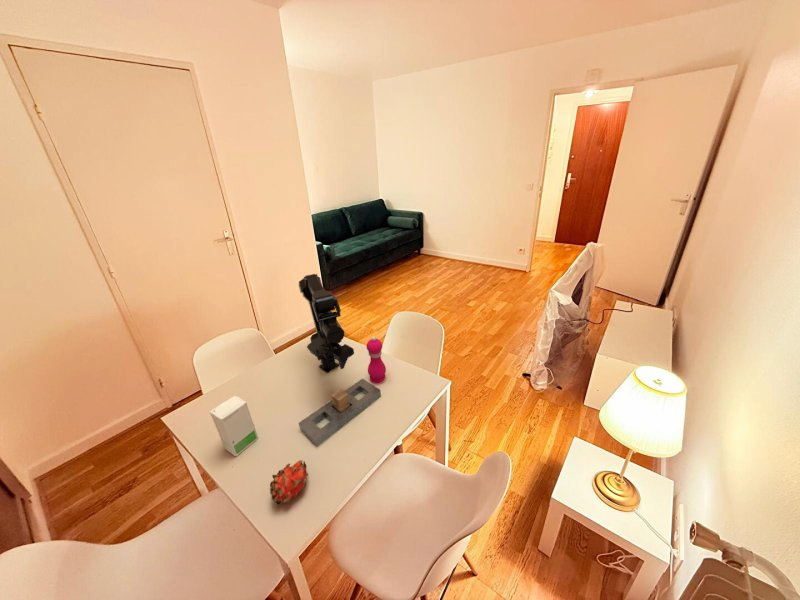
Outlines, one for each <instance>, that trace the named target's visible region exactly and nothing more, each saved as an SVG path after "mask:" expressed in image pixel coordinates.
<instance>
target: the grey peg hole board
mask: <svg viewBox="0 0 800 600" xmlns="http://www.w3.org/2000/svg"><path fill="white" fill-rule="evenodd" d="M343 391H344V392H346V393H347V394H348V397H349V403H350V407H349V408H347V409H346V410H345V411H343V412H342V413H341V414H340V413H339V412H338V411H336V410H335V409H334V406H333V401H332V399H331V400H329V401H328V402H326V403H325V404H324V405H322V406H321V407H319V408H318V409H316V410H315V411H314V412H312V413H311V414H309V415H308V416H306V417H305V418H303V419H302V420H301V421H299V422H298V427H299V429H300V431H301V433H303V434H304V435H305V436H306V437H307V438H308V439H309V440H310V441H311V442H312V443H313V444H314V445H315V446H316V447H319V446H320V445H321V444H322V443H324V442H325V441H326V440H328V439H329V438H330V437H332V436H333V435H334V434H335V433H337V431H339V430H340V429H342V428H343V427H344V426H345V425H347V424H348V423H349V422H351V421H352V420H353V419H354V418H355V417H356V416H358V415H360V413H362V412H363V411H364V410H365V409H367V408H368V407H369V406H370V405H372V404H373V403H374V402H375V401H376V400H378V399H379V398H381V396H382V394H381V393H382V392H381V389H380V388H379V387H377V386H375V385H373V383H370V382H369V381H367V380H366V379H365V378H361V379H359V380H358V381H357V382H355V383H354V384H353V385H351V386H350V387H348V388H346V389H345V390H343ZM360 393H362V394H363V396H362V397H361V398H360V399H357V398H356V396H357V395H359V394H360ZM324 419H327V420H328V421H329V422H328V423H326V424H324V426H322V427H319V426H318V424H319V423H321V422H322V421H323V420H324Z"/></svg>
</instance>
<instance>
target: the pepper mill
mask: <svg viewBox="0 0 800 600" xmlns="http://www.w3.org/2000/svg"><path fill="white" fill-rule="evenodd" d="M382 349H383V342H382V341H381V339H378V338H377V337H376V336H372V337H371V339H369V340H368V341H367V342H366V350H367V352H368V356H369V357H370V361H369V364H368V366H367V373H368V375H369V380H370V382H371V384H375V385H377V384H382V383H384V381H386V372H387V367H386V365H385V363H384V361H383V360H382V358H381V355H382V354H383V353H382Z"/></svg>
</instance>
